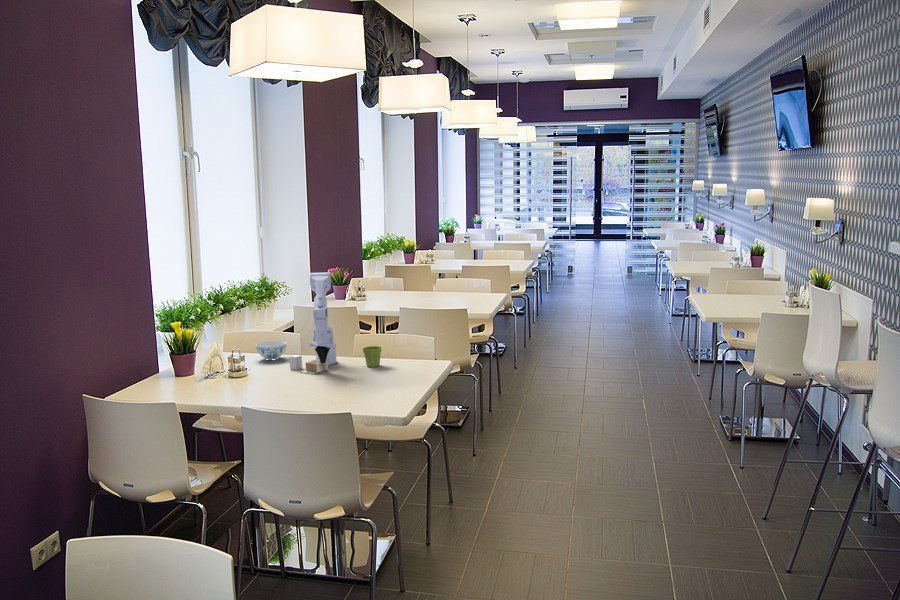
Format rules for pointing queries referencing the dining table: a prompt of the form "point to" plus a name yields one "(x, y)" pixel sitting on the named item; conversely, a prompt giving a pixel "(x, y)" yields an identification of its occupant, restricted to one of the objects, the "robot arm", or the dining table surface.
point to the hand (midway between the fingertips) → (323, 362)
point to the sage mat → (308, 372)
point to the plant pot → (372, 355)
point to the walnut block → (316, 366)
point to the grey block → (295, 362)
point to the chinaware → (271, 349)
